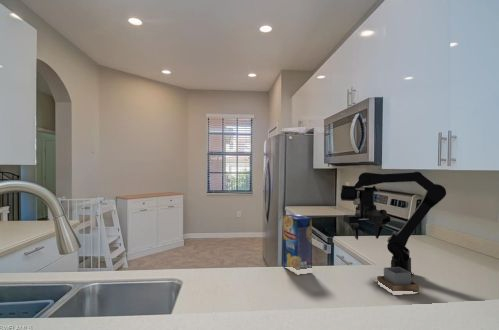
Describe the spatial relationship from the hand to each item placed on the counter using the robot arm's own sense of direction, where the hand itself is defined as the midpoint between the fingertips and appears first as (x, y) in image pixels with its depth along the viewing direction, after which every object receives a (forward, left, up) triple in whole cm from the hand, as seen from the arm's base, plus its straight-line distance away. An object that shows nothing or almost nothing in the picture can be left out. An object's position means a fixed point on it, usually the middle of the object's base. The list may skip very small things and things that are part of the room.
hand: (367, 238), depth 122 cm
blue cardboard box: (+30, -2, -12) cm, 32 cm away
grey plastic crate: (+2, +22, -12) cm, 25 cm away
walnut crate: (+2, +22, -12) cm, 25 cm away
